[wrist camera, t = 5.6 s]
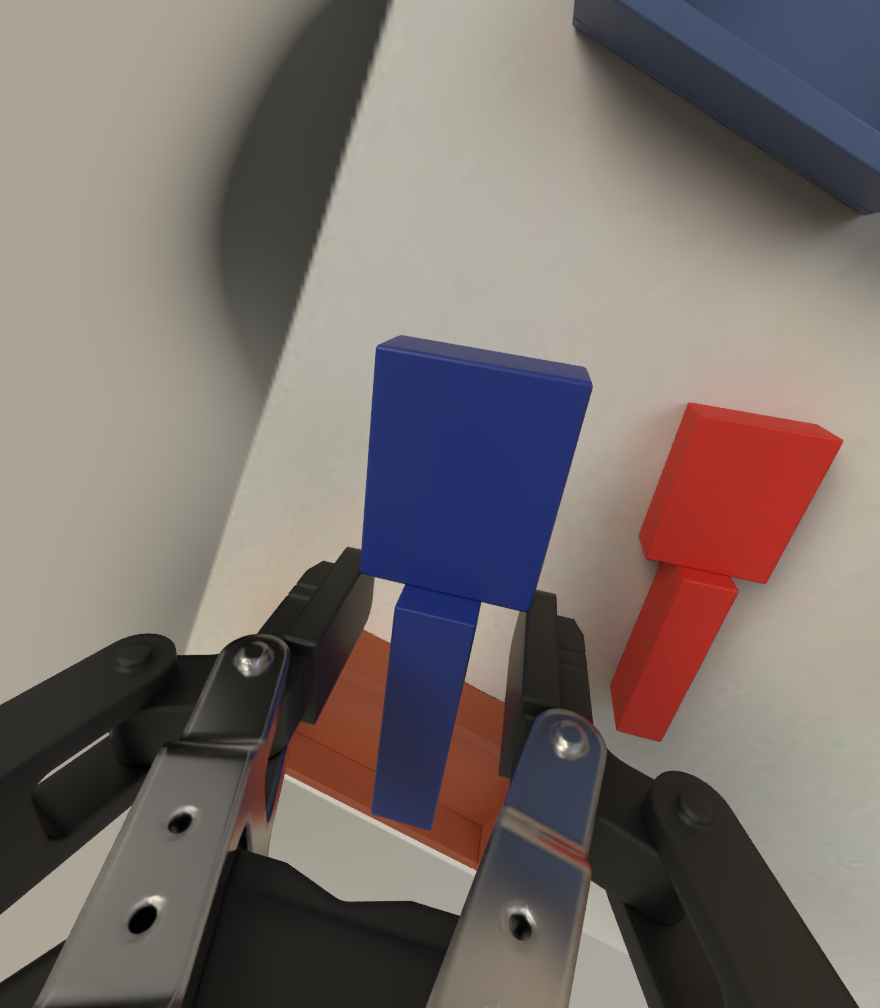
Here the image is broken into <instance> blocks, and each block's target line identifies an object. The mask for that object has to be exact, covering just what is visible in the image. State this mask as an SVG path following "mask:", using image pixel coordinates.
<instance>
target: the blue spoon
mask: <svg viewBox="0 0 880 1008" xmlns="http://www.w3.org/2000/svg"><path fill="white" fill-rule="evenodd" d="M592 388H593V385H592V382H591V379H590V377H589V374H588V372H587V369H586V368H584V367H581V366H576V365H570V364H564V363H558V362H553V361H547V360H541V359H535V358H530V357H524V356H518V355H512V354H507V353H501V352H495V351H490V350H484V349H478V348H472V347H467V346H461V345H455V344H449V343H444V342H438V341H432V340H426V339H421V338H415V337H409V336H403V335H400V336H397V337H395V338H393V339H390V340H388V341H386V342H384V343H382V344H379V345H378V346H377V348H376V355H375V369H374V383H373V396H372V410H371V424H370V438H369V452H368V466H367V480H366V493H365V507H364V521H363V535H362V549H361V563H360V571H361V573H362V574H364V575H369V576H373V577H377V578H381V579H386V580H390V581H394V582H398V583H403V584H405V586H404V588H403V591H402V593H401V595H400V597H399V599H398V602H397V604H396V606H395V611H394V619H393V628H392V637H391V645H390V654H389V662H388V671H387V679H386V688H385V696H384V705H383V713H382V722H381V730H380V739H379V747H378V756H377V764H376V773H375V781H374V790H373V798H372V807H371V814H373V815H377V816H380V817H384V818H387V819H391V820H394V821H397V822H401V823H404V824H408V825H411V826H415V827H418V828H421V829H425V830H428V831H431V829H432V826H433V821H434V817H435V812H436V807H437V803H438V798H439V794H440V789H441V785H442V780H443V776H444V771H445V767H446V762H447V758H448V753H449V749H450V744H451V740H452V735H453V730H454V726H455V721H456V717H457V712H458V708H459V703H460V699H461V694H462V690H463V685H464V681H465V676H466V672H467V667H468V662H469V658H470V653H471V649H472V644H473V640H474V635H475V631H476V626H477V621H478V616H479V611H480V606H481V602H484V603H488V604H492V605H497V606H501V607H505V608H509V609H514V610H518V611H522V612H526V611H527V610H530V609H531V605H532V602H533V598H534V595H535V591H536V588H537V584H538V580H539V577H540V573H541V570H542V566H543V563H544V559H545V555H546V552H547V548H548V545H549V541H550V538H551V534H552V531H553V527H554V523H555V520H556V516H557V513H558V509H559V506H560V502H561V499H562V495H563V491H564V488H565V484H566V481H567V477H568V474H569V470H570V467H571V463H572V459H573V456H574V452H575V449H576V445H577V442H578V438H579V435H580V431H581V427H582V424H583V420H584V417H585V413H586V410H587V406H588V403H589V399H590V395H591V392H592Z"/></svg>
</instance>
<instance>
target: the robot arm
mask: <svg viewBox="0 0 880 1008" xmlns="http://www.w3.org/2000/svg"><path fill="white" fill-rule="evenodd" d="M360 563H361V550H360V549H356V548H351V547H347V548H346V549H345V550H344V551H343V553H342V554H341V555H340V557H339V558H338V560H337V561H336V562H335V563H331V562H326V561H322V562H320V563H319V564H317V565H315V566H313V567H312V568H310V569H308V570H307V571H306V572H305V573H304V575H303V576H302V577H301V578H300V580H299V581H298V582H297V585H295V586H294V587H293V589H292V590H291V591H290V592H289V595H288V596H286V597H285V599H284V600H283V601H282V602H281V604H280V605H279V606H278V608H277V609H276V610H275V611H274V613H273V614H272V615H271V616H270V618H269V619H268V620H267V621H266V623H265V624H264V625H263V627H262V628H261V629H260V630H259V632H258V633H257V634H252V635H247V636H244V637H241V638H238V639H236V640H234V641H233V642H231V643H229V644H228V645H227V646H226V647H225V648H224V649H223V650H222V651H221V652H220V654H214V655H177V653H176V648H175V645H174V643H173V642H172V641H171V640H170V639H169V638H167V637H165V636H162V635H158V634H138V635H133V636H129V637H126V638H123V639H121V640H119V641H117V642H115V643H113V644H111V645H109V646H107V647H105V648H104V649H102V650H100V651H98V652H97V653H95V654H93V655H91V656H89V657H87V658H85V659H84V660H82V661H80V662H78V663H77V664H74V665H73V666H71V667H69V668H67V669H65V670H63V671H62V672H60V673H58V674H56V675H55V676H53V677H51V678H49V679H47V680H45V681H43V682H42V683H40V684H38V685H36V686H34V687H32V688H31V689H29V690H27V691H25V692H23V693H21V694H20V695H18V696H16V697H14V698H13V699H11V700H9V701H7V702H5V703H3V704H1V705H0V914H2V913H3V912H4V911H5V910H7V909H8V908H9V907H10V906H11V905H13V904H14V903H15V902H16V901H17V900H18V899H20V898H21V897H22V896H23V895H25V894H26V893H27V892H28V891H29V890H30V889H32V888H33V887H34V886H35V885H37V884H38V883H39V882H40V881H41V880H43V879H44V878H45V877H46V876H47V875H49V874H50V873H51V872H52V871H53V870H55V869H56V868H57V867H58V866H59V865H61V864H62V863H63V862H64V861H65V860H66V859H68V858H69V857H70V856H71V855H73V854H74V853H75V852H76V851H78V850H79V849H80V848H81V847H82V846H84V845H85V844H86V843H87V842H88V841H90V840H91V839H92V838H93V837H94V836H96V835H97V834H98V833H99V832H100V831H101V830H103V829H104V828H105V827H106V826H108V825H109V824H110V823H111V822H112V821H113V820H115V819H116V818H117V817H118V816H119V815H121V814H122V813H123V812H124V811H125V810H127V809H128V808H129V807H130V806H132V807H131V809H130V811H129V813H128V815H127V817H126V819H125V821H124V823H123V825H122V827H121V830H120V832H119V834H118V836H117V838H116V840H115V842H114V844H113V846H112V848H111V850H110V852H109V854H108V857H107V858H106V860H105V862H104V864H103V866H102V869H101V871H100V873H99V875H98V877H97V879H96V881H95V883H94V885H93V887H92V889H91V891H90V893H89V895H88V897H87V899H86V901H85V903H84V905H83V907H82V909H81V911H80V913H79V915H78V918H77V920H76V922H75V924H74V926H73V928H72V930H71V932H70V934H69V936H68V938H67V939H66V940H64V941H63V942H61V943H60V944H58V945H57V946H55V947H54V948H52V949H51V950H49V951H48V952H46V953H45V954H43V955H42V956H40V957H39V958H37V959H36V960H34V961H33V962H31V963H29V964H28V965H27V966H25V967H23V968H22V969H20V970H19V971H18V972H16V973H14V974H13V975H11V976H10V977H8V978H7V979H5V980H4V981H2V982H1V983H0V1008H568V1006H569V1001H570V995H571V990H572V984H573V978H574V972H575V967H576V961H577V956H578V950H579V944H580V938H581V933H582V927H583V921H584V916H585V910H586V904H587V899H588V893H589V887H590V881H593V882H594V883H596V884H597V885H599V886H600V887H602V888H603V889H605V890H606V893H607V896H608V899H609V902H610V905H611V907H612V910H613V913H614V915H615V918H616V921H617V924H618V926H619V929H620V932H621V934H622V937H623V940H624V942H625V945H626V948H627V951H628V953H629V956H630V959H631V961H632V964H633V967H634V969H635V972H636V974H637V978H638V980H639V983H640V986H641V988H642V991H643V993H644V996H645V999H646V1002H647V1004H648V1007H649V1008H859V1007H858V1005H857V1003H856V1002H855V1000H854V999H853V997H852V996H851V994H850V993H849V991H848V989H847V988H846V986H845V985H844V983H843V982H842V980H841V979H840V977H839V976H838V974H837V972H836V971H835V969H834V968H833V966H832V965H831V963H830V962H829V960H828V958H827V957H826V955H825V954H824V952H823V951H822V949H821V948H820V946H819V945H818V943H817V941H816V940H815V938H814V937H813V935H812V934H811V932H810V931H809V929H808V927H807V926H806V924H805V923H804V921H803V920H802V918H801V917H800V915H799V914H798V912H797V910H796V909H795V907H794V906H793V904H792V903H791V901H790V900H789V898H788V896H787V895H786V893H785V892H784V890H783V889H782V887H781V886H780V884H779V883H778V881H777V879H776V878H775V876H774V875H773V873H772V872H771V870H770V869H769V867H768V865H767V864H766V862H765V861H764V859H763V858H762V856H761V855H760V853H759V852H758V850H757V848H756V847H755V845H754V844H753V842H752V841H751V839H750V838H749V836H748V834H747V833H746V831H745V830H744V828H743V827H742V825H741V824H740V822H739V821H738V819H737V817H736V816H735V814H734V813H733V811H732V810H731V808H730V807H729V805H728V804H727V803H726V801H725V800H724V799H723V798H722V797H721V795H720V794H719V793H718V792H716V791H715V790H714V789H713V788H712V787H711V786H709V785H708V784H707V783H705V782H704V781H702V780H701V779H699V778H697V777H695V776H693V775H690V774H687V773H685V772H680V771H667V772H664V773H661V774H660V775H659V776H657V777H656V779H655V780H654V779H652V778H650V777H648V776H647V775H645V774H643V773H641V772H639V771H638V770H636V769H634V768H632V767H630V766H629V765H627V764H625V763H624V762H622V761H621V760H619V759H618V758H617V757H615V756H614V755H613V754H612V753H611V752H610V751H609V750H608V749H607V748H606V745H605V741H604V739H603V737H602V735H601V734H600V732H599V731H598V729H597V728H596V727H595V726H594V724H593V718H592V709H591V699H590V690H589V680H588V671H587V669H586V668H587V661H586V655H585V642H584V635H583V633H582V632H581V630H580V628H579V627H578V625H577V624H576V622H575V620H574V619H571V618H567V617H562V616H558V615H557V599H556V594H553V593H548V592H544V591H540V590H536V591H535V595H534V598H533V602H532V605H531V609H530V610H527V611H526V612H522V611H520V612H519V616H518V620H517V623H516V627H515V631H514V635H513V639H512V644H511V649H510V655H509V665H508V676H507V686H506V697H505V708H504V719H503V730H502V740H501V751H500V762H499V773H498V776H501V777H505V778H508V779H510V787H509V790H508V793H507V795H506V798H505V801H504V803H503V806H502V808H501V810H500V812H499V814H498V817H497V819H496V822H495V824H494V827H493V830H492V832H491V835H490V838H489V840H488V843H487V846H486V848H485V851H484V854H483V856H482V859H481V862H480V864H479V867H478V870H477V872H476V875H475V877H474V880H473V883H472V886H471V888H470V891H469V894H468V896H467V899H466V902H465V904H464V907H463V909H462V912H461V915H460V916H459V915H455V914H452V913H449V912H445V911H442V910H439V909H436V908H432V907H429V906H426V905H423V904H419V903H416V902H413V901H370V902H369V901H366V902H365V901H364V902H346V901H342V900H339V899H337V898H335V897H334V896H333V895H331V894H330V893H328V892H327V891H326V890H324V889H323V888H321V887H320V886H319V885H317V884H316V883H314V882H313V881H311V880H310V879H309V878H307V877H306V876H305V875H303V874H302V873H300V872H299V871H298V870H296V869H295V868H293V867H292V866H291V865H289V864H288V863H285V862H283V861H279V860H276V859H273V858H270V857H268V851H269V844H270V837H271V832H272V827H273V822H274V819H275V814H276V810H277V805H278V801H279V797H280V792H281V787H282V783H283V779H284V775H285V770H286V766H287V762H288V757H289V753H290V748H291V738H292V736H293V734H294V732H295V730H296V729H297V727H298V725H299V723H300V721H301V722H305V723H308V724H312V725H315V724H316V722H317V720H318V718H319V716H320V714H321V712H322V710H323V708H324V706H325V704H326V702H327V700H328V698H329V696H330V694H331V692H332V690H333V688H334V686H335V684H336V682H337V680H338V678H339V676H340V674H341V672H342V670H343V668H344V666H345V664H346V662H347V660H348V658H349V656H350V654H351V652H352V650H353V648H354V646H355V644H356V642H357V640H358V638H359V636H360V634H361V632H362V630H363V628H364V626H365V624H366V622H367V620H368V617H369V613H370V610H371V605H372V599H373V588H374V577H373V576H369V575H364V574H362V573H361V571H360ZM107 732H109V736H107V737H106V738H105V739H103V740H102V741H101V742H99V743H97V744H96V745H94V746H93V747H92V748H90V749H89V750H88V751H86V752H84V753H83V754H81V755H80V756H79V757H77V758H76V759H74V760H73V761H72V762H70V763H68V764H67V765H65V766H64V767H63V768H61V769H60V770H58V771H57V772H55V773H54V774H53V775H51V776H50V777H48V778H47V779H45V780H44V781H42V782H41V783H39V782H40V781H41V779H43V778H44V777H45V776H46V775H47V774H48V773H49V772H51V771H52V770H53V769H55V768H56V767H57V766H59V765H60V764H62V763H63V762H65V761H66V760H68V759H69V758H71V757H72V756H74V755H75V754H76V753H78V752H79V751H81V750H82V749H84V748H85V747H87V746H88V745H90V744H91V743H92V742H94V741H96V740H97V739H98V738H100V737H101V736H103V735H104V734H106V733H107ZM38 783H39V784H38Z"/></svg>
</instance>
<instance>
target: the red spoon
mask: <svg viewBox="0 0 880 1008" xmlns="http://www.w3.org/2000/svg"><path fill="white" fill-rule="evenodd" d="M842 443H843V440H842V439H840V438H839V437H837V436H835V435H834V434H832V433H830V432H829V431H827V430H825V429H824V428H822V427H820V426H819V425H817V424H811V423H805V422H799V421H793V420H788V419H782V418H776V417H770V416H765V415H759V414H753V413H747V412H742V411H736V410H730V409H724V408H718V407H713V406H707V405H701V404H695V403H688V405H687V408H686V410H685V413H684V416H683V418H682V421H681V424H680V426H679V429H678V432H677V434H676V437H675V440H674V443H673V445H672V448H671V451H670V453H669V456H668V459H667V461H666V464H665V467H664V469H663V472H662V475H661V477H660V480H659V483H658V485H657V488H656V491H655V493H654V496H653V499H652V502H651V504H650V507H649V510H648V512H647V515H646V518H645V520H644V523H643V526H642V528H641V531H640V534H639V539H640V542H641V545H642V548H643V552H644V555H645V558H647V559H651V560H656V561H660V562H661V563H660V566H659V568H658V571H657V573H656V576H655V578H654V580H653V583H652V585H651V588H650V590H649V593H648V595H647V598H646V600H645V602H644V605H643V607H642V610H641V612H640V615H639V617H638V620H637V622H636V624H635V627H634V629H633V632H632V634H631V637H630V639H629V641H628V644H627V646H626V649H625V651H624V654H623V656H622V659H621V661H620V663H619V666H618V668H617V671H616V673H615V676H614V678H613V681H612V683H611V685H610V688H611V696H612V703H613V710H614V717H615V725H616V730H617V731H620V732H624V733H627V734H631V735H635V736H639V737H643V738H647V739H651V740H655V741H658V742H661V741H662V739H663V737H664V735H665V733H666V731H667V729H668V727H669V725H670V724H671V722H672V720H673V718H674V716H675V714H676V712H677V710H678V708H679V706H680V704H681V702H682V700H683V698H684V696H685V695H686V693H687V691H688V689H689V687H690V685H691V683H692V681H693V679H694V677H695V675H696V673H697V671H698V669H699V667H700V666H701V664H702V662H703V660H704V658H705V656H706V654H707V652H708V650H709V648H710V646H711V644H712V642H713V640H714V638H715V637H716V635H717V633H718V631H719V629H720V627H721V625H722V623H723V621H724V619H725V617H726V615H727V613H728V611H729V609H730V608H731V606H732V604H733V602H734V600H735V598H736V596H737V594H738V589H737V588H736V586H735V584H734V582H733V581H732V579H731V577H735V578H740V579H744V580H749V581H754V582H758V583H763V584H766V583H767V581H768V579H769V577H770V575H771V574H772V572H773V570H774V568H775V566H776V564H777V563H778V561H779V559H780V557H781V555H782V553H783V551H784V550H785V548H786V546H787V544H788V542H789V540H790V539H791V537H792V535H793V533H794V531H795V529H796V528H797V526H798V524H799V522H800V520H801V518H802V517H803V515H804V513H805V511H806V509H807V507H808V506H809V504H810V502H811V500H812V498H813V496H814V495H815V493H816V491H817V489H818V487H819V485H820V484H821V482H822V480H823V478H824V476H825V474H826V473H827V471H828V469H829V467H830V465H831V463H832V462H833V460H834V458H835V456H836V454H837V452H838V451H839V449H840V447H841V445H842Z"/></svg>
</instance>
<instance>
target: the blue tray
mask: <svg viewBox="0 0 880 1008" xmlns="http://www.w3.org/2000/svg"><path fill="white" fill-rule="evenodd" d="M573 26H574V27H576V28H577V29H579V30H580V31H582V32H584V33H585V34H587V35H588V36H590V37H591V38H593V39H594V40H596V41H597V42H599V43H600V44H602V45H603V46H605V47H606V48H608V49H609V50H611V51H613V52H614V53H616V54H617V55H619V56H620V57H622V58H623V59H625V60H626V61H628V62H629V63H631V64H632V65H634V66H635V67H637V68H638V69H640V70H642V71H643V72H645V73H646V74H648V75H649V76H651V77H652V78H654V79H655V80H657V81H658V82H660V83H661V84H663V85H664V86H666V87H667V88H669V89H671V90H672V91H674V92H675V93H677V94H678V95H680V96H681V97H683V98H684V99H686V100H687V101H689V102H690V103H692V104H693V105H695V106H696V107H698V108H700V109H701V110H703V111H704V112H706V113H707V114H709V115H710V116H712V117H713V118H715V119H716V120H718V121H719V122H721V123H722V124H724V125H725V126H727V127H729V128H730V129H732V130H733V131H735V132H736V133H738V134H739V135H741V136H742V137H744V138H745V139H747V140H748V141H750V142H751V143H753V144H754V145H756V146H757V147H759V148H761V149H762V150H764V151H765V152H767V153H768V154H770V155H771V156H773V157H774V158H776V159H777V160H779V161H780V162H782V163H783V164H785V165H786V166H788V167H790V168H791V169H793V170H794V171H796V172H797V173H799V174H800V175H802V176H803V177H805V178H806V179H808V180H809V181H811V182H812V183H814V184H815V185H817V186H819V187H820V188H822V189H823V190H825V191H826V192H828V193H829V194H831V195H832V196H834V197H835V198H837V199H838V200H840V201H841V202H843V203H844V204H846V205H848V206H849V207H851V208H852V209H854V210H855V211H857V212H858V213H860V214H861V215H868V214H873V213H879V212H880V0H575V3H574V14H573Z"/></svg>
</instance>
